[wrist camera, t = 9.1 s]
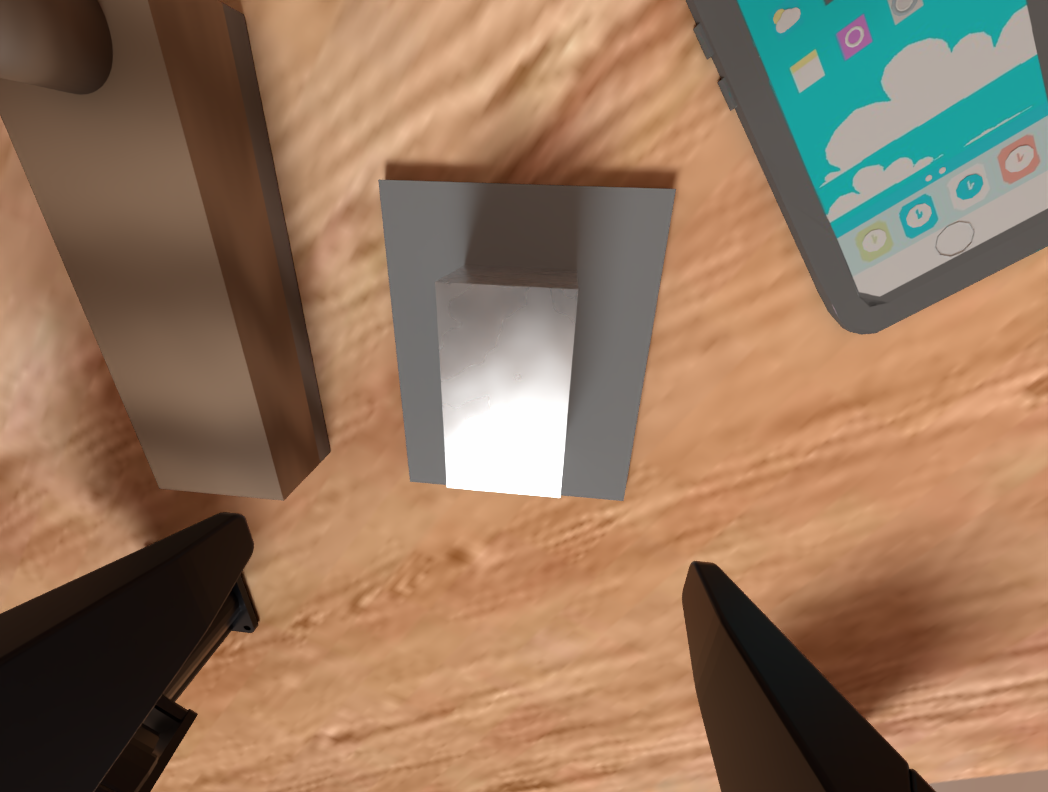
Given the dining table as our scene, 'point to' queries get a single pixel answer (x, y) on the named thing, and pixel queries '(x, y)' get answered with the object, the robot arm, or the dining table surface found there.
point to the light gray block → (506, 376)
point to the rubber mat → (533, 242)
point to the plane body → (170, 230)
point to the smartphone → (893, 138)
